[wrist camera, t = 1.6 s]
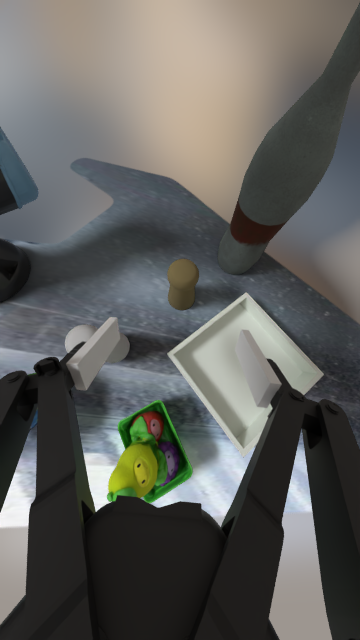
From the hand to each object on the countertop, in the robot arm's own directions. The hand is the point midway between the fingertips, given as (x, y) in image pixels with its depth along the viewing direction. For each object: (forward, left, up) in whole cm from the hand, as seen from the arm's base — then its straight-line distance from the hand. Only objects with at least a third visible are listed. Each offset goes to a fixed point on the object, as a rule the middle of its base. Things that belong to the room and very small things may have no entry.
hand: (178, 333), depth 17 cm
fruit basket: (+10, -13, -16) cm, 23 cm away
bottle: (-8, +23, -16) cm, 29 cm away
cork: (-8, +7, -16) cm, 19 cm away
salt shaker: (-7, -10, -16) cm, 20 cm away
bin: (+10, +7, -15) cm, 20 cm away
